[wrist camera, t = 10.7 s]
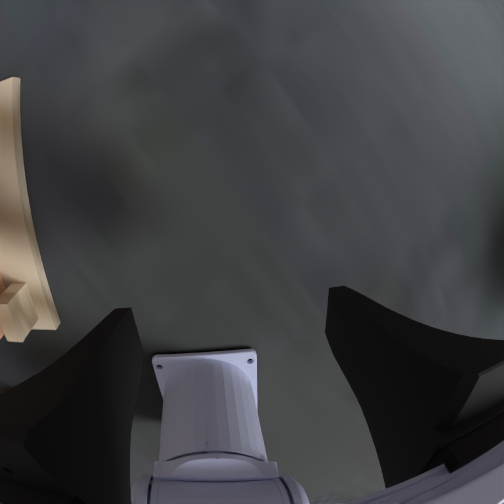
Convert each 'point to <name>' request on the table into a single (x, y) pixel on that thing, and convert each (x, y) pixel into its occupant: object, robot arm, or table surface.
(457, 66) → the table surface
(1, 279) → the clay strip
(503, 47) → the table surface
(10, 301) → the birch rack
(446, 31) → the table surface
